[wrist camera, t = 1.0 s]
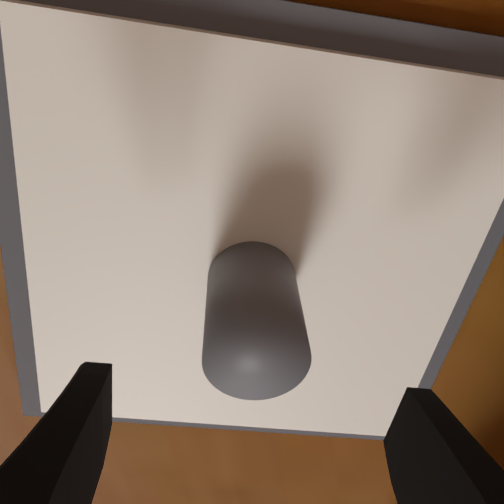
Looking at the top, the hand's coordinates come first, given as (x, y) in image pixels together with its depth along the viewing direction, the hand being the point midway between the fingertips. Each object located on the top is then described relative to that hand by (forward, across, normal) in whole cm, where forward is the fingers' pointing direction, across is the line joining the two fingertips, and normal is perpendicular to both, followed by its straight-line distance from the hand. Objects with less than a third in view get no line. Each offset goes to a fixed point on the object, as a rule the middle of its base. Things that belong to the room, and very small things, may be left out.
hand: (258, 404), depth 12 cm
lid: (+6, 0, 0) cm, 6 cm away
